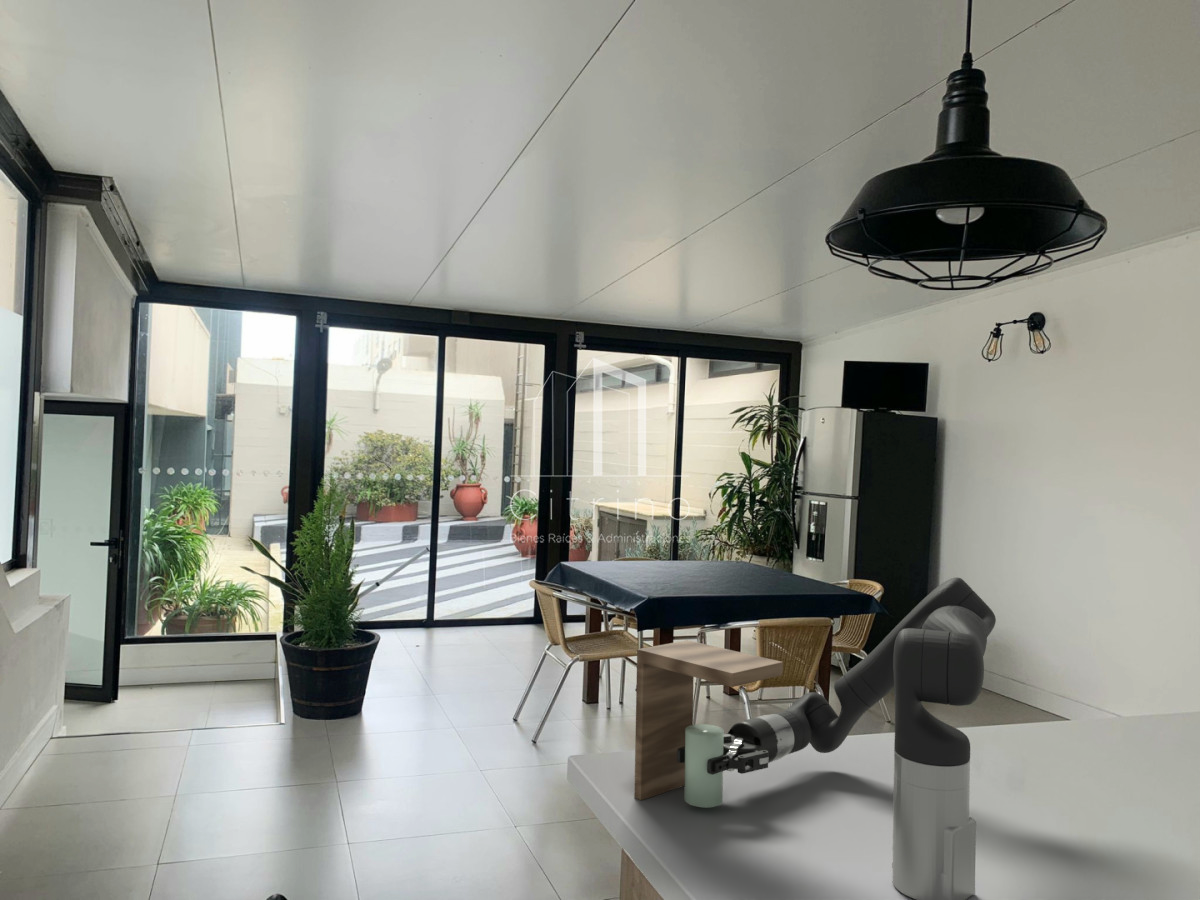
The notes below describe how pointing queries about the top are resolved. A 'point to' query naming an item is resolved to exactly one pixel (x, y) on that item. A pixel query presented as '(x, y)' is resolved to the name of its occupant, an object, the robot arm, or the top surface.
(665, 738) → the overhanging shelf
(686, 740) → the pillar candle
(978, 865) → the top surface
